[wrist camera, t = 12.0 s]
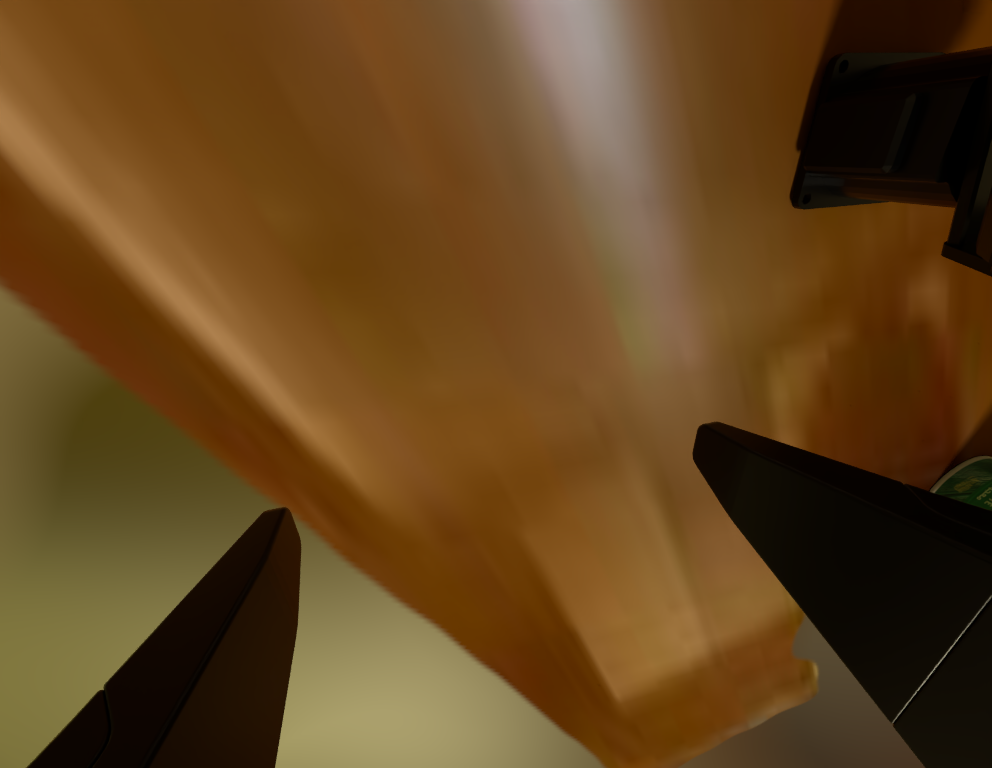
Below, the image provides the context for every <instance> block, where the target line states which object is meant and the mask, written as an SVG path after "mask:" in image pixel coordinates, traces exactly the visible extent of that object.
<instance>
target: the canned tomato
mask: <svg viewBox="0 0 992 768" xmlns="http://www.w3.org/2000/svg"><path fill="white" fill-rule="evenodd" d="M930 492H933V493H936V494H939V495H942V496H945V497H948V498H952V499H955V500H958V501H961V502H964V503H967V504H971V505H974V506H978V507H981V508H984V509H988V510H991V511H992V457H989V456H978V457H975V458H972V459H969V460H967V461H965V462H963V463H961V464H959V465H958V466H956V467H955V468H953V469H952V470H950V471H949V472H948V473H947V474H945V475H944V476H943V477H942V478H941V479H940V480H939V481H938V482H937V483H936V484H935V485H934V486H933V487H932V488H931V490H930Z"/></svg>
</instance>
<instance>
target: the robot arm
mask: <svg viewBox="0 0 992 768" xmlns="http://www.w3.org/2000/svg"><path fill="white" fill-rule="evenodd" d="M839 66H840V70H839ZM803 197H804V200H803ZM882 202H899V203H910V204H921V205H931V206H942V207H953V208H955V211H954V215H953V219H952V223H951V228H950V232H949V236H948V240H947V241H946V242H944V245H943V249H942V253H941V255H942V256H943V257H946V258H948V259H951V260H953V261H955V262H958V263H960V264H963V265H965V266H967V267H970V268H972V269H975V270H977V271H979V272H982V273H984V274H987V275H989V276H991V277H992V46H990V47H984V48H978V49H972V50H967V51H961V52H955V53H949V54H945V53H844V54H839V55H836V56H834V57H833V58H832V59H831V60H830V62H829V63H828V66H827V69H826V72H825V76H824V80H823V84H822V88H821V91H820V95H819V99H818V103H817V107H816V110H815V114H814V118H813V122H812V125H811V129H810V133H809V137H808V141H807V144H806V148H805V152H804V156H803V160H802V163H801V167H800V171H799V175H798V179H797V182H796V186H795V190H794V194H793V198H792V206H793V207H794V208H797V209H814V208H826V207H837V206H848V205H859V204H871V203H882ZM693 460H694V462H695V464H696V466H697V467H698V469H699V470H700V472H701V474H702V475H703V477H704V478H705V480H706V481H707V483H708V484H709V486H710V488H711V489H712V491H713V492H714V494H715V495H716V497H717V499H718V500H719V502H720V503H721V505H722V506H723V508H724V509H725V511H726V512H727V514H728V515H729V517H730V518H731V520H732V521H733V522H734V524H735V525H736V526H737V528H738V529H739V530H740V531H741V533H742V534H743V535H744V536H745V538H746V539H747V540H748V542H749V543H750V544H751V545H752V547H753V548H754V549H755V550H756V552H757V553H758V554H759V556H760V557H761V558H762V559H763V561H764V562H765V563H766V565H767V566H768V567H769V568H770V570H771V571H772V572H773V573H774V575H775V576H776V577H777V579H778V580H779V581H780V582H781V584H782V585H783V586H784V587H785V589H786V590H787V591H788V593H789V594H790V595H791V596H792V598H793V599H794V600H795V602H796V603H797V604H798V605H799V607H800V608H801V609H802V610H803V612H804V613H805V614H806V616H807V617H808V618H809V619H810V621H811V622H812V623H813V624H814V625H815V627H816V628H817V630H818V631H819V632H820V633H821V635H822V636H823V637H824V638H825V640H826V641H827V642H828V644H829V645H830V646H831V647H832V649H833V650H834V651H835V652H836V654H837V655H838V656H839V658H840V659H841V660H842V662H843V663H844V664H845V665H846V667H847V668H848V669H849V670H850V672H851V673H852V674H853V675H854V677H855V678H856V679H857V681H858V682H859V683H860V684H861V686H862V687H863V688H864V690H865V691H866V692H867V693H868V695H869V696H870V697H871V698H872V700H873V701H874V702H875V704H876V705H877V706H878V707H879V709H880V710H881V711H882V713H883V714H884V715H885V716H886V717H887V719H888V720H889V721H890V722H891V723H892V724H893V727H894V728H895V730H896V731H897V732H898V733H899V735H900V736H901V737H902V739H903V740H904V741H905V742H906V744H907V745H908V746H909V748H910V749H911V750H912V751H913V753H914V754H915V755H916V756H917V758H918V759H919V760H920V762H921V763H922V764H923V765H924V767H925V768H992V511H991V510H988V509H984V508H981V507H978V506H974V505H971V504H967V503H964V502H961V501H958V500H955V499H952V498H948V497H945V496H942V495H939V494H936V493H933V492H930V491H927V490H924V489H921V488H918V487H915V486H912V485H909V484H903V483H901V482H899V481H896V480H893V479H890V478H887V477H884V476H881V475H878V474H875V473H872V472H869V471H866V470H863V469H860V468H857V467H854V466H851V465H848V464H845V463H842V462H839V461H836V460H833V459H830V458H827V457H824V456H821V455H818V454H814V453H811V452H808V451H805V450H802V449H799V448H796V447H793V446H790V445H787V444H784V443H781V442H778V441H775V440H772V439H769V438H766V437H763V436H760V435H757V434H754V433H751V432H748V431H745V430H742V429H739V428H736V427H733V426H730V425H727V424H724V423H721V422H711V423H706V424H702V425H700V426H699V428H698V430H697V434H696V439H695V443H694V448H693ZM300 563H301V540H300V536H299V533H298V531H297V528H296V525H295V522H294V520H293V517H292V514H291V512H290V510H289V509H288V508H286V507H282V508H277V509H272V510H267V511H265V512H263V513H262V514H261V515H260V516H259V517H258V518H257V519H256V521H255V522H254V523H253V524H252V525H251V526H250V527H249V528H248V529H247V530H246V531H245V532H244V534H243V535H242V536H241V537H240V538H239V539H238V540H237V541H236V542H235V543H234V544H233V545H232V547H231V548H230V549H229V550H228V551H227V552H226V553H225V554H224V555H223V556H222V557H221V558H220V560H219V561H218V562H217V563H216V564H215V565H214V566H213V567H212V568H211V569H210V571H208V573H207V574H206V575H205V576H204V577H203V578H202V579H201V580H200V581H199V583H197V585H196V586H195V587H194V588H193V589H192V590H191V591H190V592H189V593H188V594H187V595H186V597H185V598H184V599H183V600H182V601H181V602H180V603H179V604H178V605H177V606H176V608H174V610H173V611H172V612H171V613H170V614H169V615H168V616H167V617H166V618H165V619H164V621H162V623H161V624H160V625H159V626H158V627H157V628H156V629H155V630H154V631H153V633H152V634H151V635H150V636H149V637H148V638H147V639H146V640H145V641H144V642H143V643H142V644H141V645H140V646H139V648H138V649H137V650H136V651H135V652H134V653H133V654H132V655H131V656H130V657H129V658H128V659H127V661H126V662H125V663H124V664H123V665H122V666H121V667H120V668H119V669H118V670H117V672H116V673H115V674H114V675H113V676H112V677H111V678H110V679H109V680H108V681H107V682H106V683H105V685H104V690H100V691H98V692H97V693H96V694H95V695H94V696H93V697H92V698H91V699H90V700H89V702H88V703H87V704H86V705H85V706H84V707H83V708H82V709H81V710H80V711H79V712H78V713H77V715H76V716H75V717H74V718H73V719H72V720H71V721H70V722H69V723H68V724H67V725H66V726H65V727H64V728H63V729H62V731H61V732H60V733H59V734H58V735H57V736H56V737H55V738H54V739H53V740H52V741H51V742H50V743H49V744H48V745H47V746H46V747H45V748H44V749H43V751H42V752H41V753H40V754H39V755H38V756H37V757H36V758H35V759H34V760H33V761H32V762H31V763H30V764H29V765H28V766H27V767H26V768H275V764H276V757H277V752H278V746H279V739H280V733H281V727H282V721H283V715H284V709H285V701H286V696H287V690H288V684H289V678H290V672H291V665H292V659H293V653H294V647H295V640H296V634H297V626H298V611H299V587H300Z"/></svg>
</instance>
